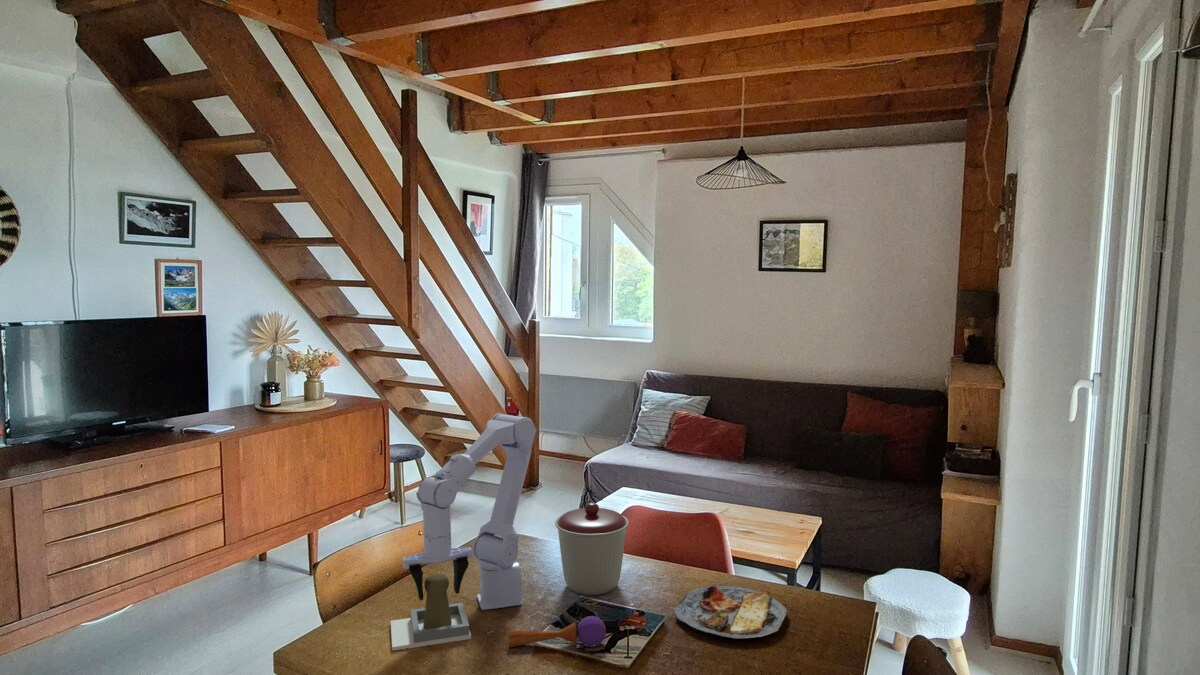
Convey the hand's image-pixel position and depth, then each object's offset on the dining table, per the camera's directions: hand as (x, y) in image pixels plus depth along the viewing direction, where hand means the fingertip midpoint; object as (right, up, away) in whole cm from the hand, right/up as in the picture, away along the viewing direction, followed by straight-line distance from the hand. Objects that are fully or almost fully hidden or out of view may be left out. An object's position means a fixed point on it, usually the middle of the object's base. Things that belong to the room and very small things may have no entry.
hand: (438, 594), depth 155 cm
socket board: (-2, -8, 0) cm, 8 cm away
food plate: (+64, -8, +6) cm, 65 cm away
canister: (+33, -6, +23) cm, 40 cm away
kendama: (+26, -9, -6) cm, 28 cm away
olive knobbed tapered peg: (-1, -7, +1) cm, 7 cm away
